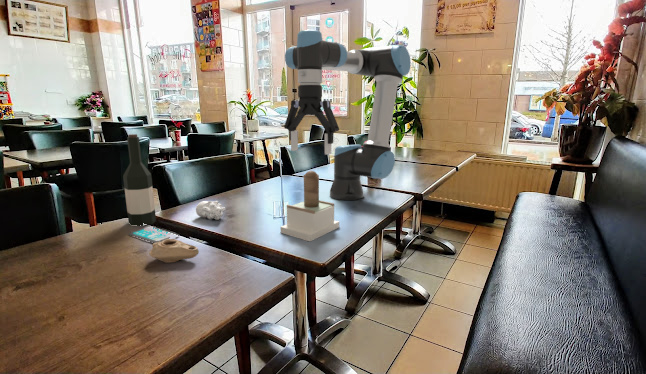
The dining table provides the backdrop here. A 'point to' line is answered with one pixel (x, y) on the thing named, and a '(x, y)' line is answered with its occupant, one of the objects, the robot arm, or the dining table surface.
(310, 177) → the brown domed cylinder
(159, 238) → the smartphone
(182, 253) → the pottery oil lamp
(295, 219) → the display stand
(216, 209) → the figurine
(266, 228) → the dining table surface
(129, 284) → the dining table surface
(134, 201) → the wine bottle
